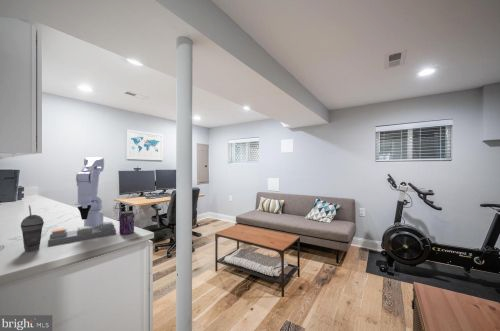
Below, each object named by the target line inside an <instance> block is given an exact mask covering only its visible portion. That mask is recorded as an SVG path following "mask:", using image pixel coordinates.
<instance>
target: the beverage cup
mask: <svg viewBox="0 0 500 331" xmlns="http://www.w3.org/2000/svg"><path fill="white" fill-rule="evenodd" d="M28 210H29V211H28V212H29V215H28V216H26V217H24V218H23V219H22V221H21V222H20V229H21V232H22V233H21V234H22V239H23V241H22V242H23V249H24V252H25V253H29V252H35V251H38V250H40V245H41V240H42V232H43V227H44V223H45V222H44V218H43V217H42V216H40V215H38V214H32V207H31V205H28Z"/></svg>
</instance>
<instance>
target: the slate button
mask: <svg viewBox="0 0 500 331" xmlns="http://www.w3.org/2000/svg"><path fill="white" fill-rule="evenodd" d="M112 223H113V222H112V221H103V223H102V226H108V225H112Z"/></svg>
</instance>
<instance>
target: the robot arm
mask: <svg viewBox="0 0 500 331" xmlns="http://www.w3.org/2000/svg"><path fill="white" fill-rule="evenodd" d="M104 169H105V159H104V157H85V158H84V159H83V167H82V169H81V170H80V172H78V173H76V176H75V180H76V181H75V182H76V187H77V202H75V203H74V205H78V206H77V209H78V211H79V215H80V218H81V220H82V221H83V226H82V227H86V226H92V228H96V227H100V224H102V223H104V212H103V211H102V210H103V200H102V198H100V197H99V196H98V192H99V191H98V189H99V182H100V181H99V180H100V174H101V173H102V172H104Z"/></svg>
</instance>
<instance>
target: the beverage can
mask: <svg viewBox="0 0 500 331" xmlns="http://www.w3.org/2000/svg"><path fill="white" fill-rule="evenodd" d="M118 232H119V234H121V235H124V234H125V235H130V234H132V233H133V232H135V213H134V210H124V211H120V215H119V231H118Z"/></svg>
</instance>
